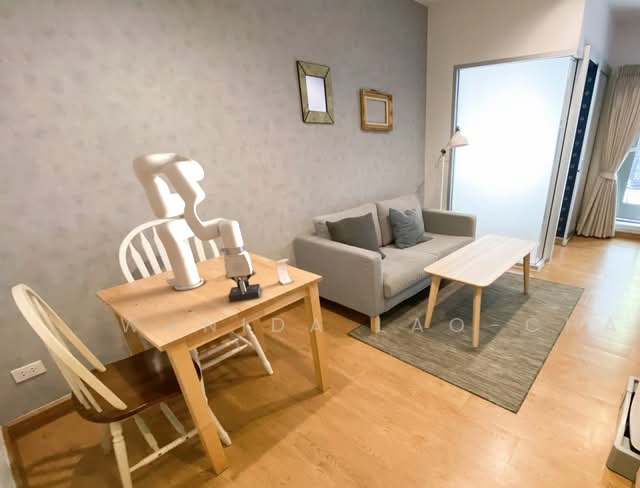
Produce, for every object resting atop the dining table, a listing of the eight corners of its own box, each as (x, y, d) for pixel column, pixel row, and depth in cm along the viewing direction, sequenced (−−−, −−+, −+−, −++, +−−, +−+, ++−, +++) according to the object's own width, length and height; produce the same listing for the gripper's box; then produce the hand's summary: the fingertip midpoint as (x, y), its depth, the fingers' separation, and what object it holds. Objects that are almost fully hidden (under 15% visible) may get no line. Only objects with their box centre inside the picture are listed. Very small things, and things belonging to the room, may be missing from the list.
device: (229, 302, 144) (228, 296, 142) (233, 292, 152) (231, 286, 151) (259, 298, 147) (257, 291, 145) (260, 289, 155) (259, 283, 154)
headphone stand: (283, 284, 159) (278, 261, 154) (278, 280, 163) (273, 258, 158) (292, 282, 162) (288, 259, 156) (287, 278, 166) (283, 255, 161)
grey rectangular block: (245, 291, 146) (243, 281, 144) (241, 292, 145) (238, 282, 143) (247, 286, 151) (244, 276, 148) (243, 287, 150) (240, 277, 148)
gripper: (212, 255, 135) (223, 295, 143) (253, 250, 139) (262, 289, 146) (216, 249, 141) (226, 287, 149) (255, 245, 145) (263, 283, 153)
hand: (244, 288), depth 148 cm, fingers closed on grey rectangular block, 2 cm apart
